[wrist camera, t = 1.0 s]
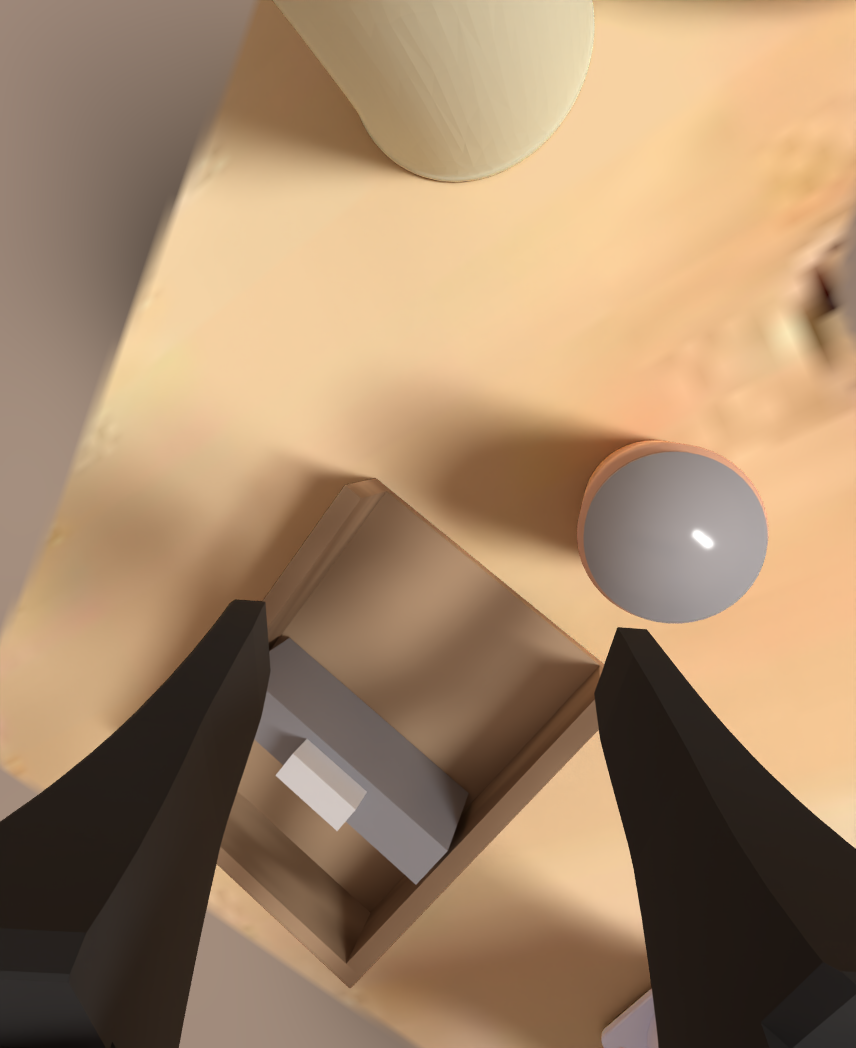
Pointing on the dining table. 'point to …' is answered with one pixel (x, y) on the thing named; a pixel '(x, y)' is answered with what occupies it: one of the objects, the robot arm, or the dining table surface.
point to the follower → (356, 764)
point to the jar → (671, 531)
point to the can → (452, 74)
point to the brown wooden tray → (404, 717)
